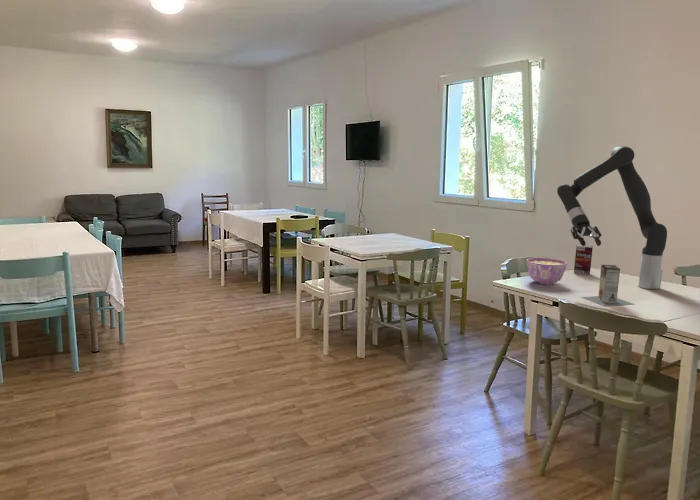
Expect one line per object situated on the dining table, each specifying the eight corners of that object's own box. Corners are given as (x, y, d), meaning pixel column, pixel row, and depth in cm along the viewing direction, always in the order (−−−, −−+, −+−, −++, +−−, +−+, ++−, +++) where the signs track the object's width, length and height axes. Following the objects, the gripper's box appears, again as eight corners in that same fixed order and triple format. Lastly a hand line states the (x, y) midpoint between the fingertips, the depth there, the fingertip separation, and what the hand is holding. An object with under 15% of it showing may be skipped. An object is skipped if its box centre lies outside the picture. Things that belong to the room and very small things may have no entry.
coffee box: (597, 297, 262) (600, 264, 259) (612, 298, 261) (615, 264, 258) (602, 302, 253) (605, 268, 250) (617, 303, 252) (620, 268, 249)
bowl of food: (543, 288, 278) (545, 266, 276) (516, 280, 296) (518, 259, 294) (574, 285, 286) (575, 263, 284) (546, 277, 304) (547, 256, 302)
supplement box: (573, 273, 315) (576, 246, 312) (573, 272, 319) (576, 244, 317) (590, 275, 312) (592, 247, 309) (590, 273, 316) (592, 246, 313)
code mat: (609, 295, 267) (609, 295, 267) (634, 304, 251) (634, 304, 251) (581, 297, 262) (581, 297, 262) (604, 306, 247) (604, 306, 247)
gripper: (570, 213, 270) (583, 240, 261) (595, 213, 274) (609, 240, 265) (562, 223, 276) (575, 250, 267) (586, 222, 280) (600, 249, 271)
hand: (592, 245), depth 266 cm, fingers open, 8 cm apart
